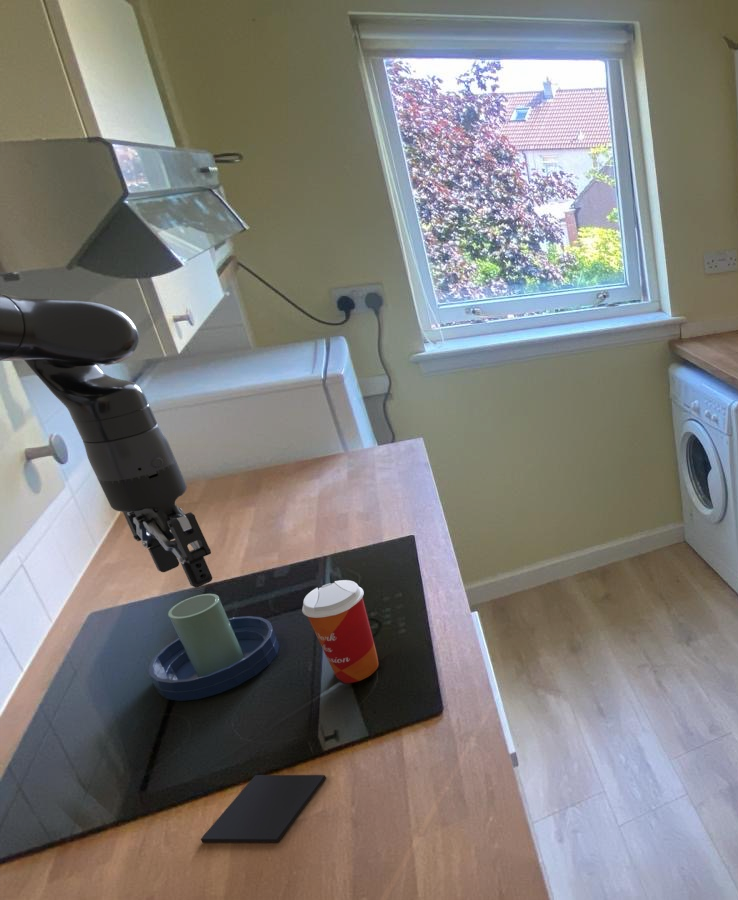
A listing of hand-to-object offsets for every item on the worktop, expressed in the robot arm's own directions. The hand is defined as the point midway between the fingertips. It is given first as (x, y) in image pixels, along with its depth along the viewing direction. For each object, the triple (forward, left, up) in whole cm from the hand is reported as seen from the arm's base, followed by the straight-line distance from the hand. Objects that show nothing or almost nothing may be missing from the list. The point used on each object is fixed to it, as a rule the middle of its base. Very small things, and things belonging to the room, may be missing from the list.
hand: (186, 576), depth 97 cm
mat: (-8, -24, -21) cm, 33 cm away
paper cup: (+12, -10, -21) cm, 26 cm away
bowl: (+2, +10, -21) cm, 23 cm away
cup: (+2, +10, -20) cm, 23 cm away
